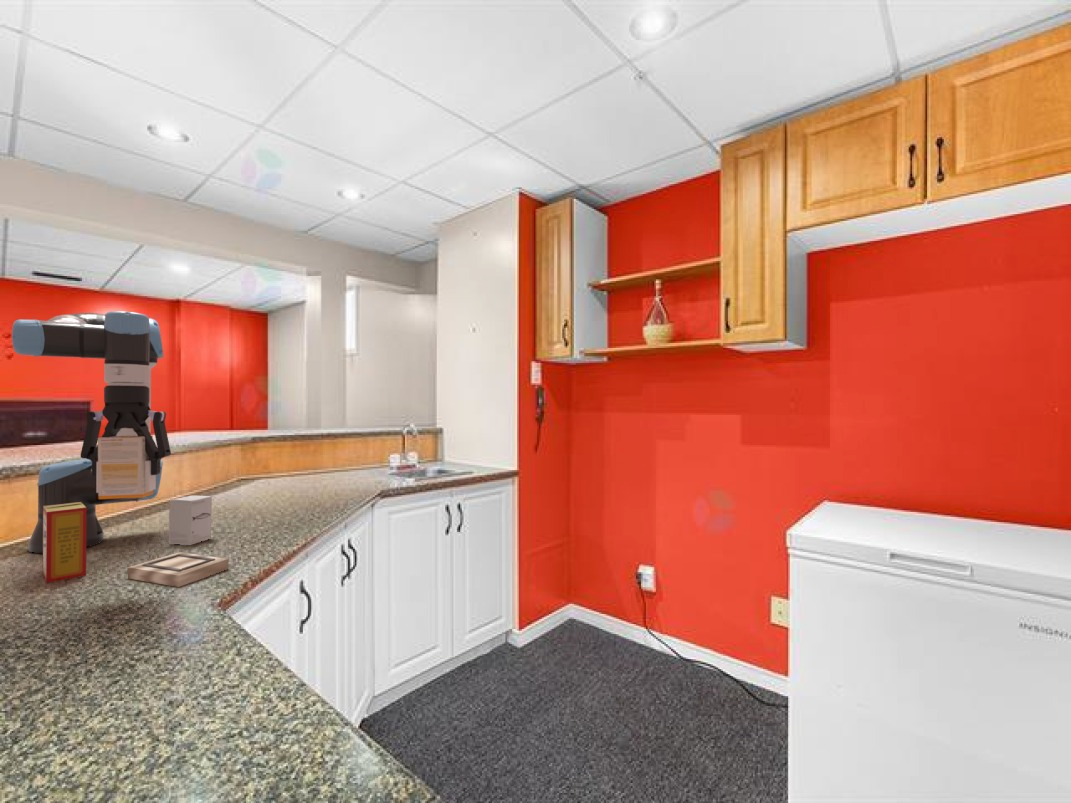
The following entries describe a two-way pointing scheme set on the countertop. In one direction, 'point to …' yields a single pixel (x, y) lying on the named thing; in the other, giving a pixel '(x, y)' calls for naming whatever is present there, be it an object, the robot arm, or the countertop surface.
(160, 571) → the seat pad
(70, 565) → the baking soda box
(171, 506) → the supplement box
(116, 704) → the countertop surface
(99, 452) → the supplement box
